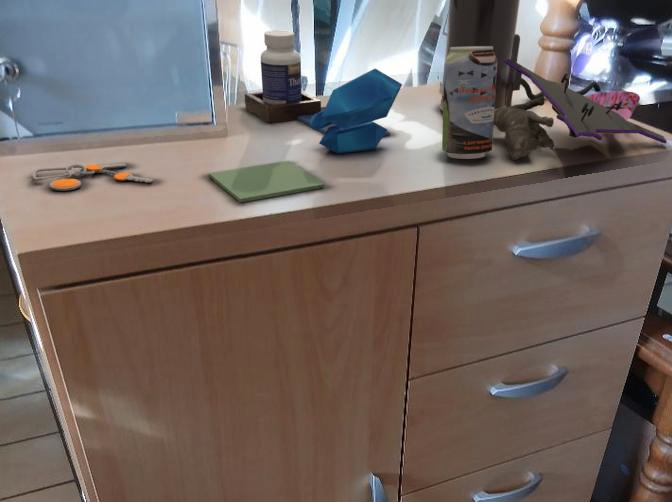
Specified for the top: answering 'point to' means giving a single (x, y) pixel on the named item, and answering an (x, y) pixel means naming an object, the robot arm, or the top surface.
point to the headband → (617, 101)
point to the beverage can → (469, 101)
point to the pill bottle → (280, 68)
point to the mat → (265, 181)
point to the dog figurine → (523, 128)
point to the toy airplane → (582, 110)
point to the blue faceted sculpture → (357, 113)
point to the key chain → (74, 183)
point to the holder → (281, 107)
